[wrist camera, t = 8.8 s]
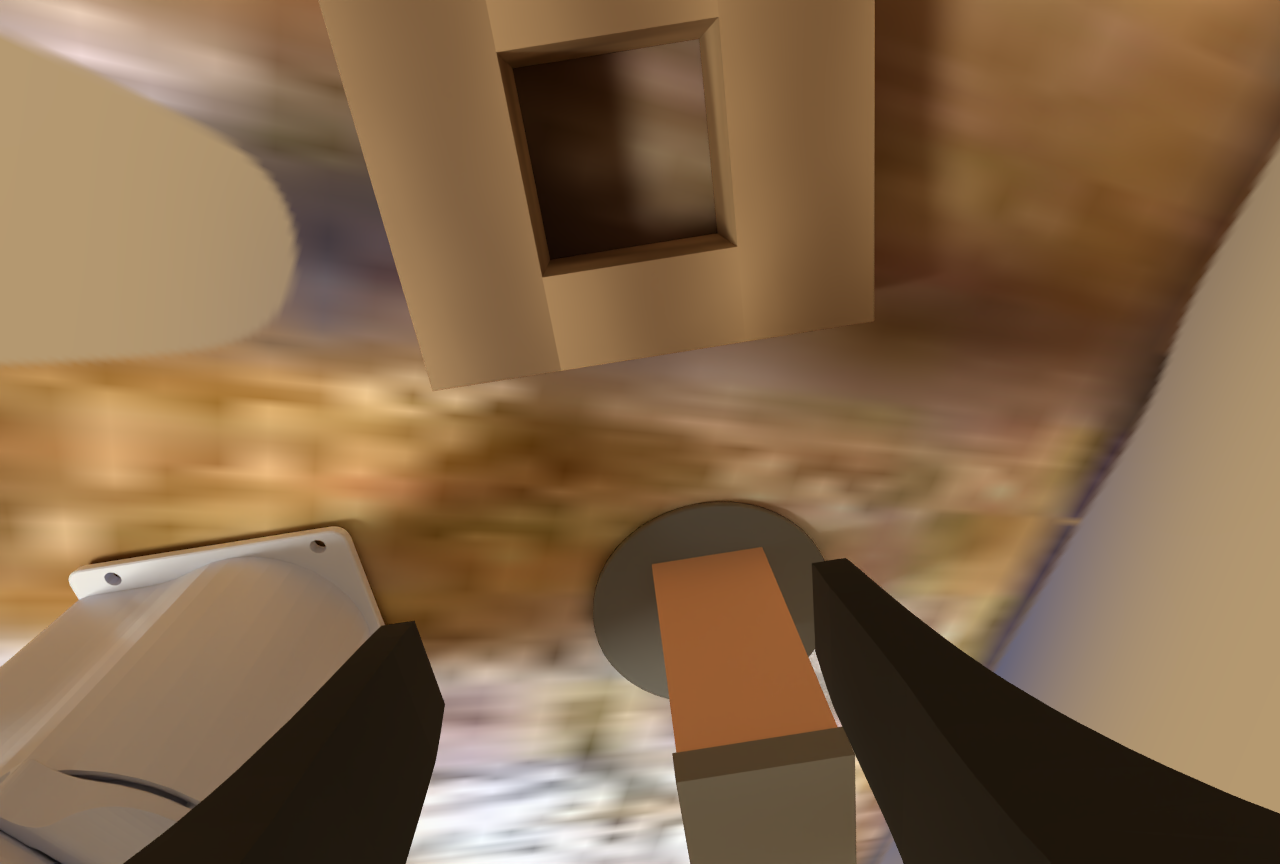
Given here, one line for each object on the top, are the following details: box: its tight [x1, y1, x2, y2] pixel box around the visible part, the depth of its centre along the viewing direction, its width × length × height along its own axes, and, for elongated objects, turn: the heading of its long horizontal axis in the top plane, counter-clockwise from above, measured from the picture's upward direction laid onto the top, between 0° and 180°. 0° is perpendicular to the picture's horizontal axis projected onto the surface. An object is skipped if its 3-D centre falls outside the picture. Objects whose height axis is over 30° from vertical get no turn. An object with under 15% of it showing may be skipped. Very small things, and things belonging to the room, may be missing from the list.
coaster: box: [593, 502, 824, 699], centre depth 24 cm, size 9×9×1 cm
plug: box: [652, 547, 856, 864], centre depth 20 cm, size 4×4×9 cm
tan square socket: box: [318, 0, 875, 391], centre depth 17 cm, size 12×10×3 cm
